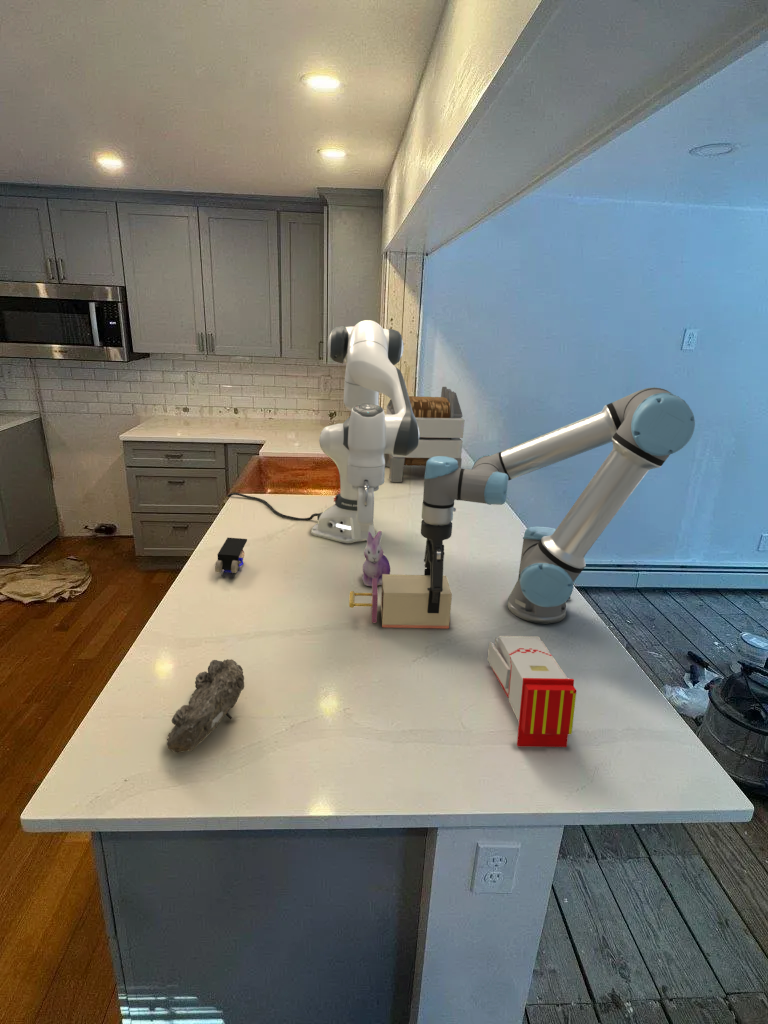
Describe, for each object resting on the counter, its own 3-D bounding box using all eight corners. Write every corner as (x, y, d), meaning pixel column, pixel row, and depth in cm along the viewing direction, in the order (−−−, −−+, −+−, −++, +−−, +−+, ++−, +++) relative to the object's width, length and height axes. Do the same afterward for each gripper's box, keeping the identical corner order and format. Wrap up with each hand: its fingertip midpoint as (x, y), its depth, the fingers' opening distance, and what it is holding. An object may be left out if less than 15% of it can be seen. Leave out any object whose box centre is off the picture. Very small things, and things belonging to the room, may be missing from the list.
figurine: (368, 590, 159) (370, 541, 153) (353, 575, 167) (354, 528, 162) (398, 584, 163) (401, 536, 158) (382, 570, 171) (384, 524, 166)
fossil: (192, 660, 117) (244, 628, 112) (224, 691, 120) (276, 661, 115) (142, 746, 98) (202, 712, 93) (182, 779, 101) (242, 748, 96)
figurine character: (238, 584, 162) (249, 557, 175) (236, 562, 158) (247, 536, 172) (215, 584, 161) (227, 556, 175) (212, 561, 158) (225, 535, 171)
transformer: (382, 463, 289) (386, 382, 275) (445, 464, 293) (451, 384, 279) (390, 482, 257) (394, 392, 243) (460, 483, 261) (468, 394, 247)
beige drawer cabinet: (382, 627, 141) (383, 592, 138) (380, 607, 151) (382, 574, 147) (448, 628, 142) (452, 593, 139) (443, 608, 151) (446, 575, 148)
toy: (536, 619, 129) (586, 686, 99) (531, 673, 131) (578, 754, 102) (483, 618, 128) (517, 685, 99) (479, 672, 131) (511, 753, 102)
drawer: (348, 622, 141) (349, 594, 138) (349, 604, 149) (350, 577, 147) (433, 623, 142) (435, 595, 139) (429, 605, 150) (431, 579, 148)
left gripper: (380, 488, 124) (378, 546, 129) (377, 464, 143) (375, 515, 148) (352, 487, 124) (350, 545, 128) (352, 463, 143) (351, 515, 147)
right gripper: (460, 538, 127) (451, 625, 134) (445, 505, 148) (439, 581, 156) (426, 538, 126) (420, 624, 134) (417, 504, 148) (412, 581, 155)
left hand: (364, 529), depth 138 cm, fingers open, 8 cm apart
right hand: (430, 601), depth 145 cm, fingers closed on beige drawer cabinet, 10 cm apart
